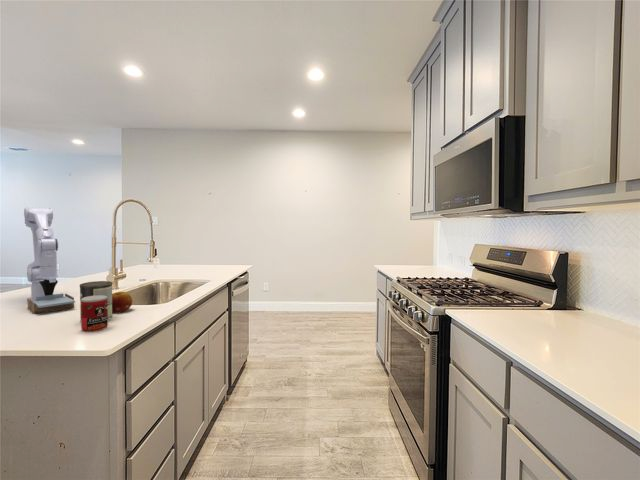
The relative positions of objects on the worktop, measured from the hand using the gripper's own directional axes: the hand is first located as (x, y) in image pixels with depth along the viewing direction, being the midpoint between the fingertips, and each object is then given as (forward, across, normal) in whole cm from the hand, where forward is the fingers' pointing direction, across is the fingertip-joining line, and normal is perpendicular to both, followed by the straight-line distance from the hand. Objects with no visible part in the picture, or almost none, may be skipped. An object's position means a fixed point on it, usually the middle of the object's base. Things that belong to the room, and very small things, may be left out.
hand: (48, 296), depth 136 cm
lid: (+1, +7, 0) cm, 8 cm away
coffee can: (+5, +35, +7) cm, 36 cm away
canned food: (+5, +46, +3) cm, 47 cm away
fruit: (+5, +29, +17) cm, 34 cm away
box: (+4, +3, 0) cm, 6 cm away
